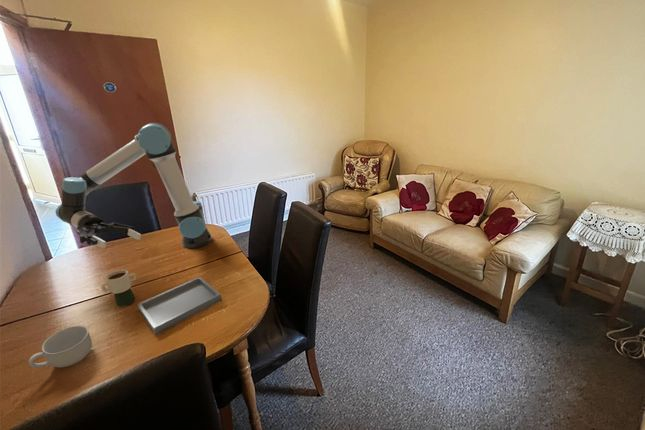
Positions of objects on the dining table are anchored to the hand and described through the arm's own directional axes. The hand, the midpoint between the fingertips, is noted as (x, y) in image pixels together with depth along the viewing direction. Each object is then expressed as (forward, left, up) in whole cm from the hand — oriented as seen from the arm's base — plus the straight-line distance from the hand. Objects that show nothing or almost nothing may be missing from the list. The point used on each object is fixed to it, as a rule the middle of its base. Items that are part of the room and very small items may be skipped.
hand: (123, 241), depth 111 cm
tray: (-8, +24, -23) cm, 34 cm away
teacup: (+26, +24, -23) cm, 42 cm away
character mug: (+6, +6, -23) cm, 24 cm away
